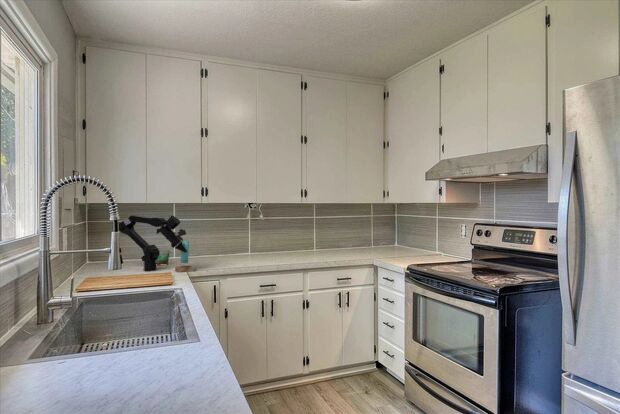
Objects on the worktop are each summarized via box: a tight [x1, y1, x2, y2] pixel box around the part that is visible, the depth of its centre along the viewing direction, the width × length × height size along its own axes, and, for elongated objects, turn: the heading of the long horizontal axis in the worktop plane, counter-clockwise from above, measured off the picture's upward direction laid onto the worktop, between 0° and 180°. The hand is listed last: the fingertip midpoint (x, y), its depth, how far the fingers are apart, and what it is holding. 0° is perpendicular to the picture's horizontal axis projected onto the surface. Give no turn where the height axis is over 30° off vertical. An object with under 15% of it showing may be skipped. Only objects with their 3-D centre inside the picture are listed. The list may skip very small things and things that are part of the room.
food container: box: [156, 249, 171, 265], centre depth 263 cm, size 12×6×10 cm, turn 105°
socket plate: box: [174, 265, 195, 273], centre depth 237 cm, size 9×9×2 cm
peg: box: [180, 240, 190, 264], centre depth 237 cm, size 4×4×13 cm
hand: (187, 251), depth 238 cm, fingers closed on peg, 4 cm apart
